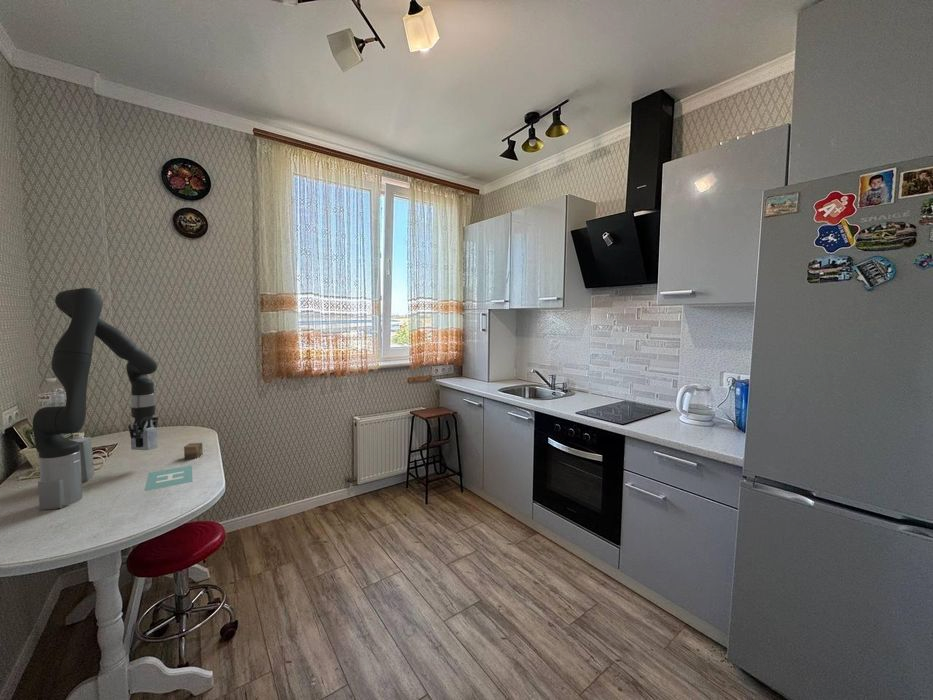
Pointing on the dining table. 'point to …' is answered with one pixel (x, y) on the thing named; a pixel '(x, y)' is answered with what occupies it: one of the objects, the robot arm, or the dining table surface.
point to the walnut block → (193, 451)
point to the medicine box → (146, 440)
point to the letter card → (169, 477)
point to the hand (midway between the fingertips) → (144, 444)
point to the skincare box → (86, 458)
